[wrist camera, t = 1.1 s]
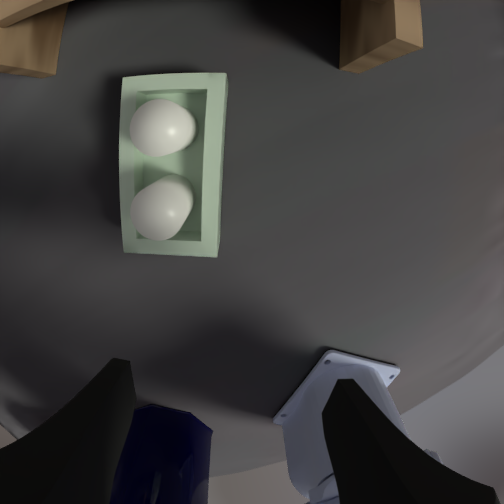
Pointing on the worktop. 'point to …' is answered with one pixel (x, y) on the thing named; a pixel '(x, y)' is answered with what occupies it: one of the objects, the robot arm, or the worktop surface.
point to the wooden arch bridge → (351, 34)
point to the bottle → (163, 459)
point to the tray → (172, 162)
